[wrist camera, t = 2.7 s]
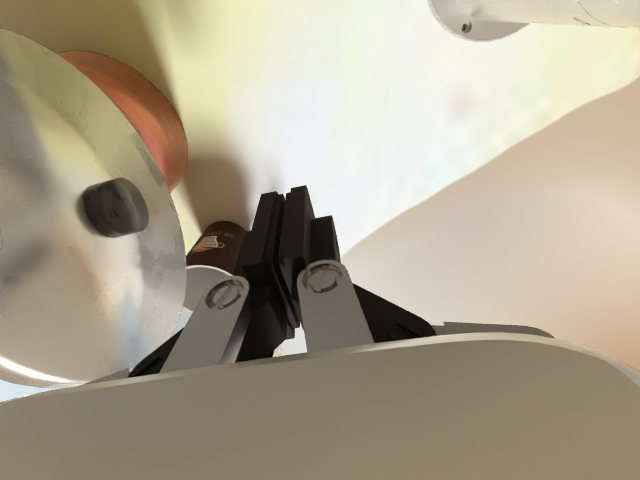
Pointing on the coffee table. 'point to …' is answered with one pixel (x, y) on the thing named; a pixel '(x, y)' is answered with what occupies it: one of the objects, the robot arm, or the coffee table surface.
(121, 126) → the cooker lid
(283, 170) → the coffee table surface
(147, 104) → the red-brown rounded block
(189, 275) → the coffee mug
